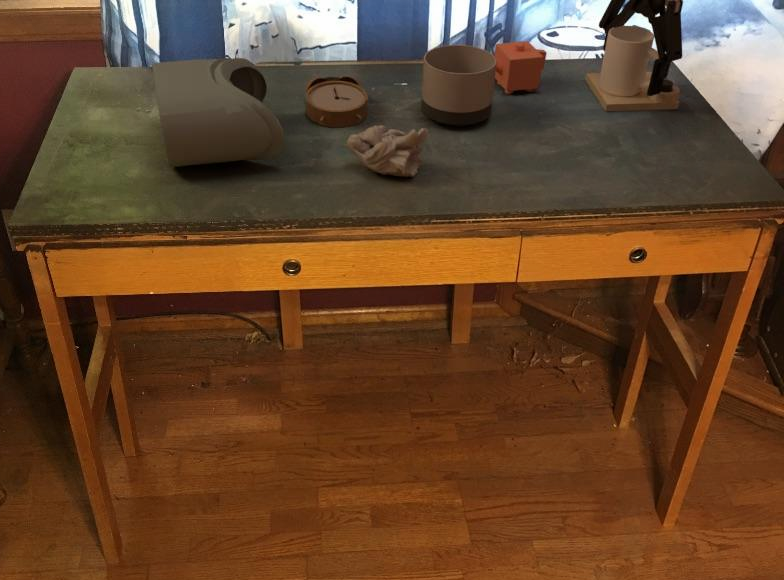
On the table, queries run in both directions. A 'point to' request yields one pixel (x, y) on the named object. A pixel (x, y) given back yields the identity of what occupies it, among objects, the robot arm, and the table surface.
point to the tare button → (667, 86)
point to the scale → (633, 97)
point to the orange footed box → (519, 66)
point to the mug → (626, 60)
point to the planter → (458, 84)
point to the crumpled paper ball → (388, 150)
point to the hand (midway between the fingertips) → (629, 81)
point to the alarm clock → (336, 101)
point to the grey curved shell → (215, 112)
